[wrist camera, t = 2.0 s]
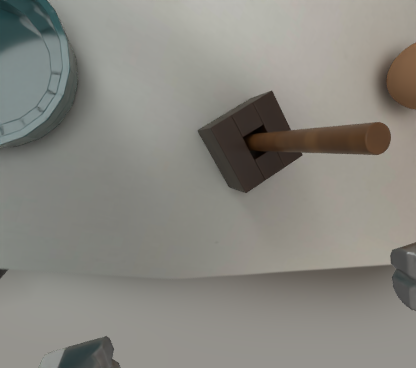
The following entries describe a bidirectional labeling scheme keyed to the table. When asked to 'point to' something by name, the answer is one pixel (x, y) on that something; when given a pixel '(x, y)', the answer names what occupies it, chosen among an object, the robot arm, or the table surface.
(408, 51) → the egg
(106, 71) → the table surface
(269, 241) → the table surface
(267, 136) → the stick
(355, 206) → the table surface
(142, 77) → the table surface
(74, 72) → the bowl
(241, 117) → the stand
